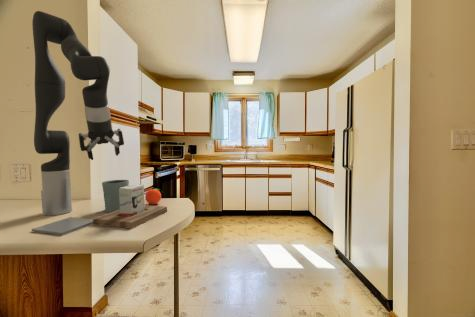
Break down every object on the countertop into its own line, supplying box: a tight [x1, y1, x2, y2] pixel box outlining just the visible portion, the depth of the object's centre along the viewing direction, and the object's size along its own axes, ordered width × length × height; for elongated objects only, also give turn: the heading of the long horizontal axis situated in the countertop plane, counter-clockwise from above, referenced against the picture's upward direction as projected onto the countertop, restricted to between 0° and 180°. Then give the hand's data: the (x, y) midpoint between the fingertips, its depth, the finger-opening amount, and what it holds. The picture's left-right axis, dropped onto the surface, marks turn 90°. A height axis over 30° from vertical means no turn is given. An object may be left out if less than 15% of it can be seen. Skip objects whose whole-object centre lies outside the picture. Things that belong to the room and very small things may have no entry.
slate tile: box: [31, 216, 94, 236], centre depth 81 cm, size 13×13×1 cm
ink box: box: [119, 184, 146, 217], centre depth 90 cm, size 9×5×12 cm, turn 168°
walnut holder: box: [92, 204, 168, 229], centre depth 90 cm, size 16×20×2 cm
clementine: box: [144, 188, 162, 205], centre depth 111 cm, size 8×7×7 cm
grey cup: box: [101, 179, 130, 213], centre depth 102 cm, size 10×10×12 cm
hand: (104, 156), depth 93 cm, fingers open, 8 cm apart
